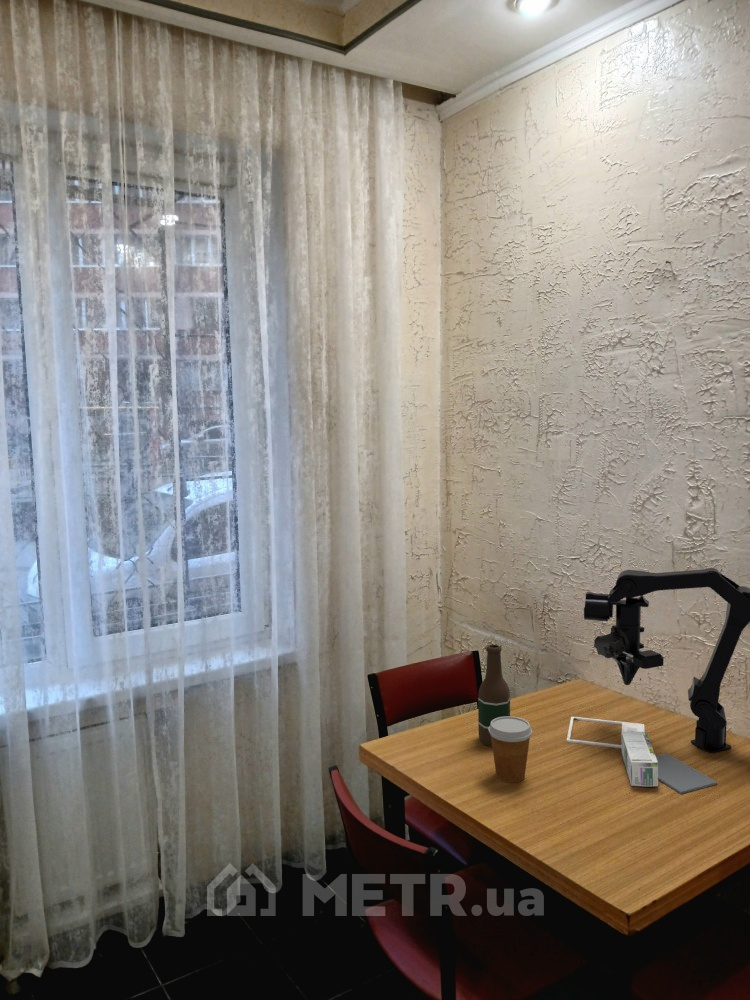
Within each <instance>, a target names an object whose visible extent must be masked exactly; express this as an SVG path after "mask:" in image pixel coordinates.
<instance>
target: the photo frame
mask: <svg viewBox="0 0 750 1000" xmlns="http://www.w3.org/2000/svg"><path fill="white" fill-rule="evenodd" d="M574 720H577V721H582V722H583V721H584V722H590V723H591V722H593V723H600V724H601V723H603V724H611V725H612V724H613V725H620V726H621V732H645V724H644V723H636V722H627V721H620V720H619V721H618V720H617V721H615V720H610V719H609V720H608V719H607V720H606V719H598V718H597V719H596V718H590V717H589V718H588V717H579V716H570V721H569V727H568V732H567V735H566V737H567V738H566V743H573V744H582V745H590V746H600V747H607V748H616V749H622V743H621V744H617V743H615V744H614V743H607V742H597V741H588V740H579V739H571V734H572V729H573V723H574Z"/></svg>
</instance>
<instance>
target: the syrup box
mask: <svg viewBox="0 0 750 1000" xmlns="http://www.w3.org/2000/svg"><path fill="white" fill-rule="evenodd" d="M620 742H621V743H622V748H621V755H622V756H621V757H622V759H623V763H624V766H625V769H626V773H627V777H628V779H629V782H630V786H632V787H658V786H659V780H658V761H657V758H656V756H657V755H656V754H655V751H654V748H653V745H652V742H651V740H650V737H649V735H648V732H647V731H644V732H622V731H621V732H620Z"/></svg>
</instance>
